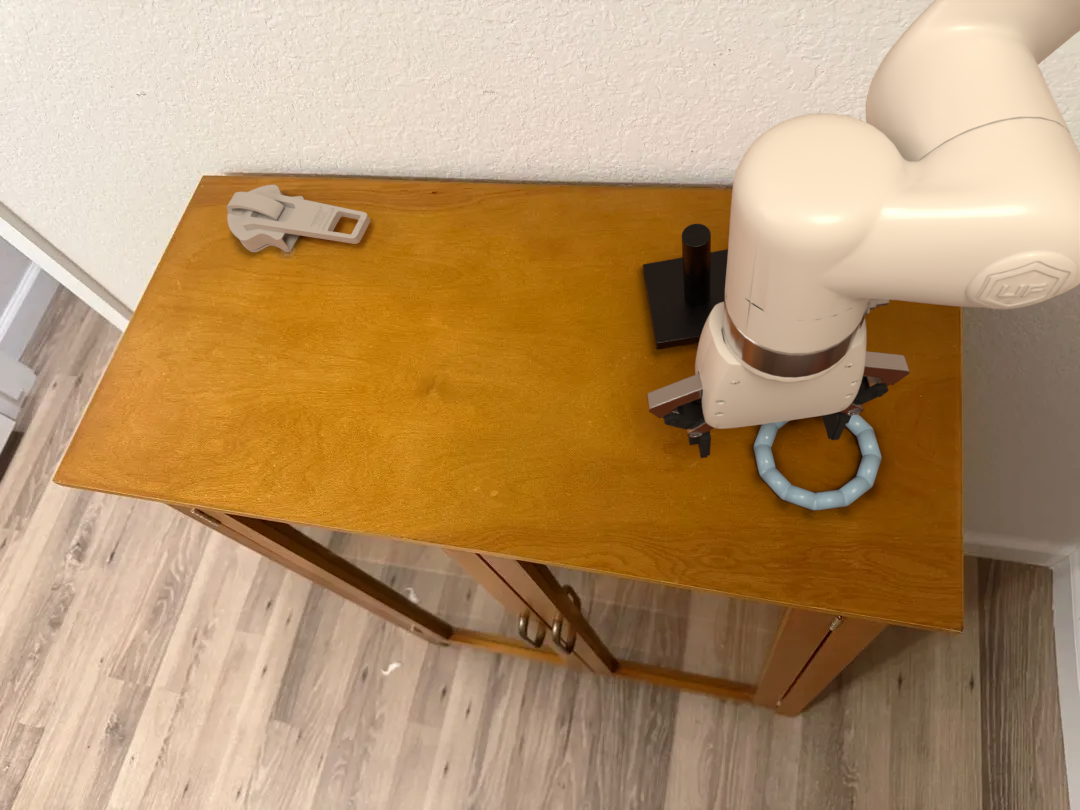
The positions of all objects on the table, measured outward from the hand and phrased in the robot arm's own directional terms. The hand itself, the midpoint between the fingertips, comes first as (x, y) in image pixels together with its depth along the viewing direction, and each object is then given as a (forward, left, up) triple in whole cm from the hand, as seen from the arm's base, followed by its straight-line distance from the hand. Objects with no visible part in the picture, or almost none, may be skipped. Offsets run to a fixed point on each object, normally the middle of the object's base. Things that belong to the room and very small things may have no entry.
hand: (764, 431), depth 59 cm
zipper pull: (+43, -35, -7) cm, 56 cm away
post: (+2, -17, -7) cm, 18 cm away
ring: (-5, 0, -6) cm, 8 cm away
